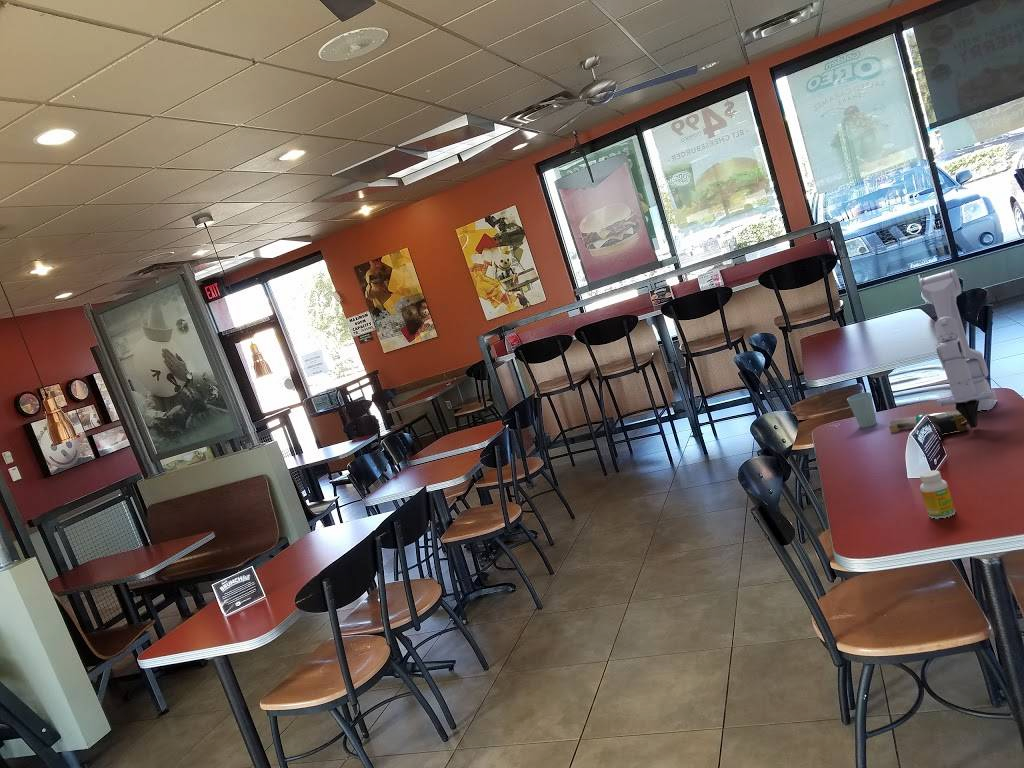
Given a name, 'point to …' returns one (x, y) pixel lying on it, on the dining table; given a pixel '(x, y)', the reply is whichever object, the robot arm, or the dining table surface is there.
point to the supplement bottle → (936, 495)
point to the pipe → (916, 420)
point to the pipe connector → (948, 424)
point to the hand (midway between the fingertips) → (974, 426)
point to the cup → (863, 409)
